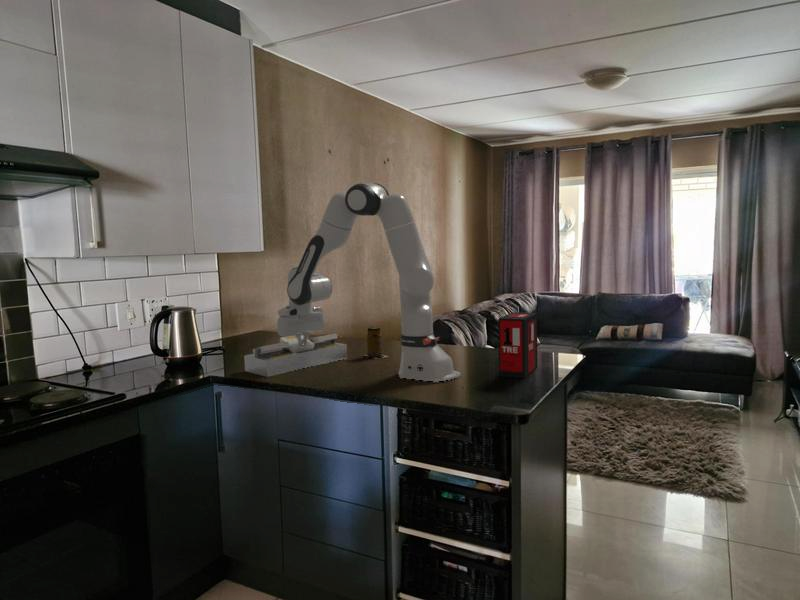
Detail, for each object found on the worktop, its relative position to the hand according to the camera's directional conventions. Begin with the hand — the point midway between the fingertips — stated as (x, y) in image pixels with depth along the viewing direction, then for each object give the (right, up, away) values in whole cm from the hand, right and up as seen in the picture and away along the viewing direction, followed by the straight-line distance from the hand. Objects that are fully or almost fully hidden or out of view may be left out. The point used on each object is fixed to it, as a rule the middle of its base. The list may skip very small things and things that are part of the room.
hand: (302, 344), depth 214 cm
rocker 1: (-11, -1, -6) cm, 12 cm away
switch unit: (-3, -8, +4) cm, 9 cm away
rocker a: (+5, +1, +12) cm, 13 cm away
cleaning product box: (+80, -8, -18) cm, 82 cm away
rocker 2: (-3, 0, +3) cm, 4 cm away
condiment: (+28, -6, +15) cm, 32 cm away
